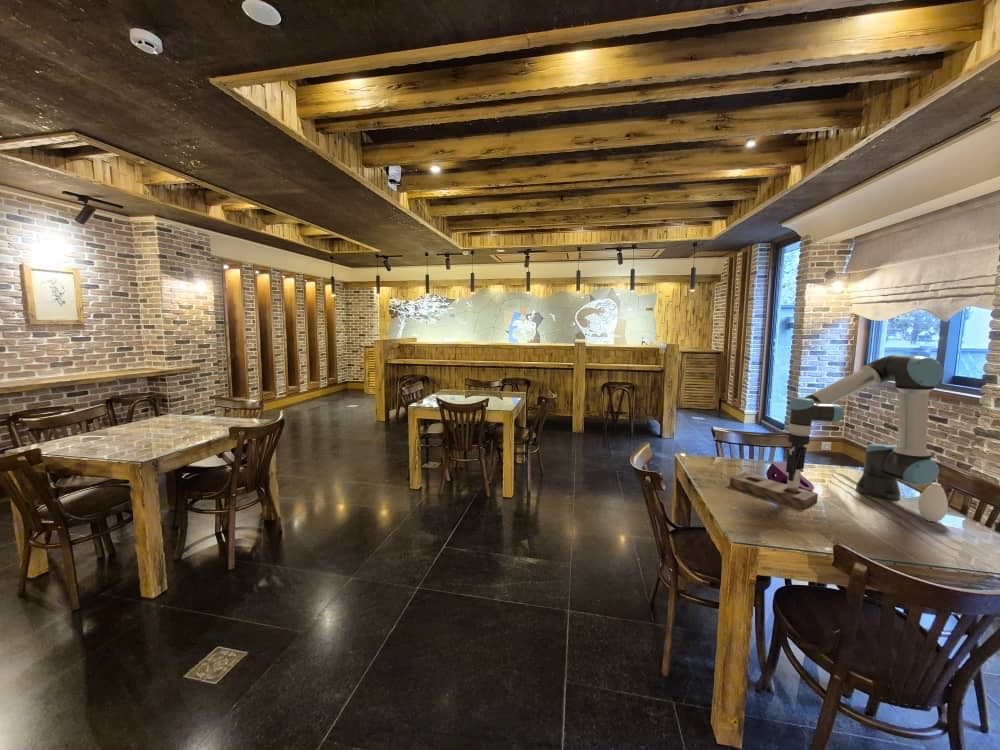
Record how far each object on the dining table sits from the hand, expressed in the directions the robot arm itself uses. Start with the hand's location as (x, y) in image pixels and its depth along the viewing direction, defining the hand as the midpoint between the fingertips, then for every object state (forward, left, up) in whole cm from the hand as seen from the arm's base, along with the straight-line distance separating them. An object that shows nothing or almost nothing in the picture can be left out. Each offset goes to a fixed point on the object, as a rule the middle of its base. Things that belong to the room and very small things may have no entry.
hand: (792, 486), depth 179 cm
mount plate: (+8, 0, -6) cm, 10 cm away
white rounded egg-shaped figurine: (-38, -27, -6) cm, 47 cm away
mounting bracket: (+8, -20, -7) cm, 22 cm away
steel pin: (0, 0, -6) cm, 6 cm away
